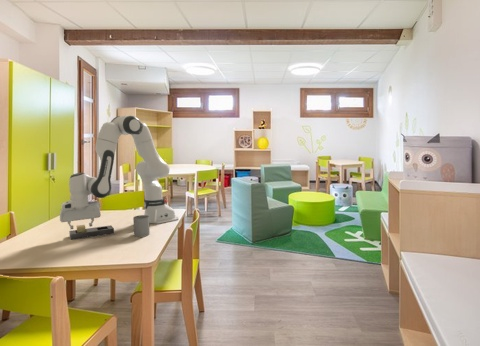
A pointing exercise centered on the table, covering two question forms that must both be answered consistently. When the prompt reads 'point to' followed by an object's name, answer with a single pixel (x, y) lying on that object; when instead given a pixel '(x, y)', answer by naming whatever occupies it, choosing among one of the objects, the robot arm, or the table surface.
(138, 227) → the cup
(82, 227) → the block
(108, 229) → the rail
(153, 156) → the robot arm
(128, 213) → the table surface
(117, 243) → the table surface
